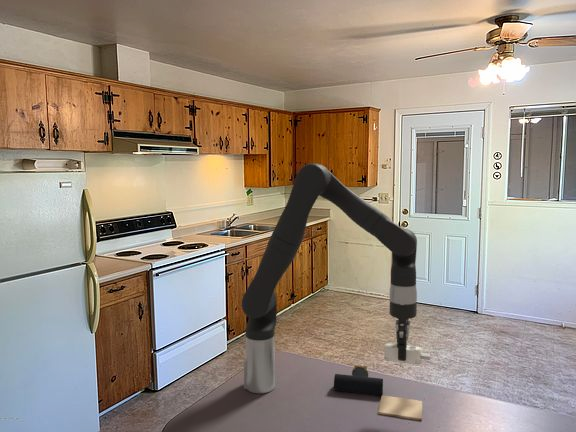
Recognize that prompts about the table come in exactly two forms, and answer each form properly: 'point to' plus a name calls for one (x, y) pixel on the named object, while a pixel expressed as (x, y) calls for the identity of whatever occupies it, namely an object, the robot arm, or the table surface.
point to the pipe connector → (358, 382)
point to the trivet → (400, 407)
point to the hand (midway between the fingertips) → (402, 357)
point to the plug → (412, 354)
